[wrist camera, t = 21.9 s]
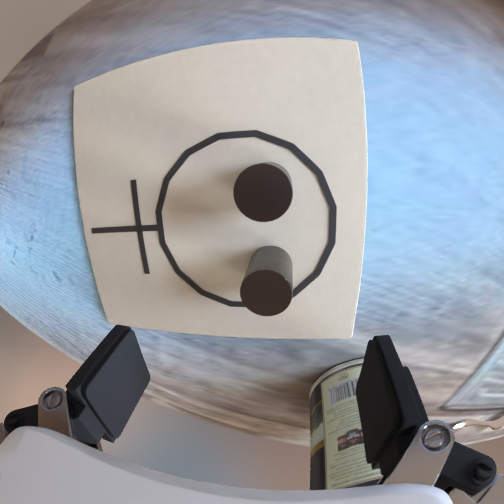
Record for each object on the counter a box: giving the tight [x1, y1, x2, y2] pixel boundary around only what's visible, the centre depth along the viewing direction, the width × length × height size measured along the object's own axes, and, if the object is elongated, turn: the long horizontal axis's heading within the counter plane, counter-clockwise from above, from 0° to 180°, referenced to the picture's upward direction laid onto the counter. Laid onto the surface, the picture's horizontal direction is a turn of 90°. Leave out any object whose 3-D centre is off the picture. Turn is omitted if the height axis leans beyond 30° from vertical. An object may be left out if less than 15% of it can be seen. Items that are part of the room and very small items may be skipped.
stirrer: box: [452, 415, 504, 433], centre depth 24 cm, size 20×4×5 cm
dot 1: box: [233, 162, 293, 222], centre depth 16 cm, size 3×3×4 cm
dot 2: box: [240, 246, 293, 316], centre depth 18 cm, size 3×3×4 cm
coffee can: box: [309, 358, 383, 490], centre depth 18 cm, size 10×10×14 cm
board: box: [73, 37, 367, 339], centre depth 20 cm, size 24×24×1 cm
